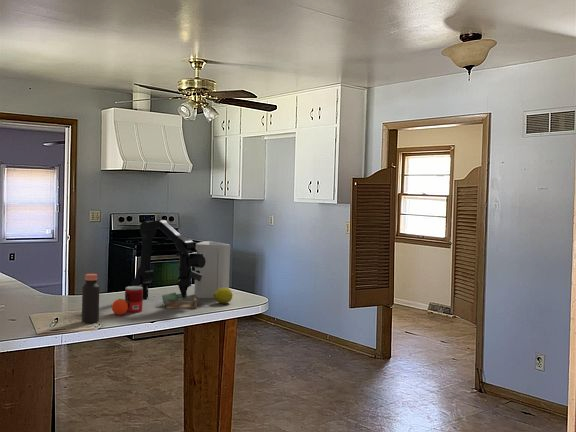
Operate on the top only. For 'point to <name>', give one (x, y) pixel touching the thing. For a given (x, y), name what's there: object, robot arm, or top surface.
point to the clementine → (120, 306)
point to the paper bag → (213, 268)
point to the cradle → (182, 304)
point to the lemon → (223, 295)
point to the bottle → (172, 297)
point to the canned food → (134, 298)
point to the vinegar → (90, 299)
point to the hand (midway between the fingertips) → (183, 297)
